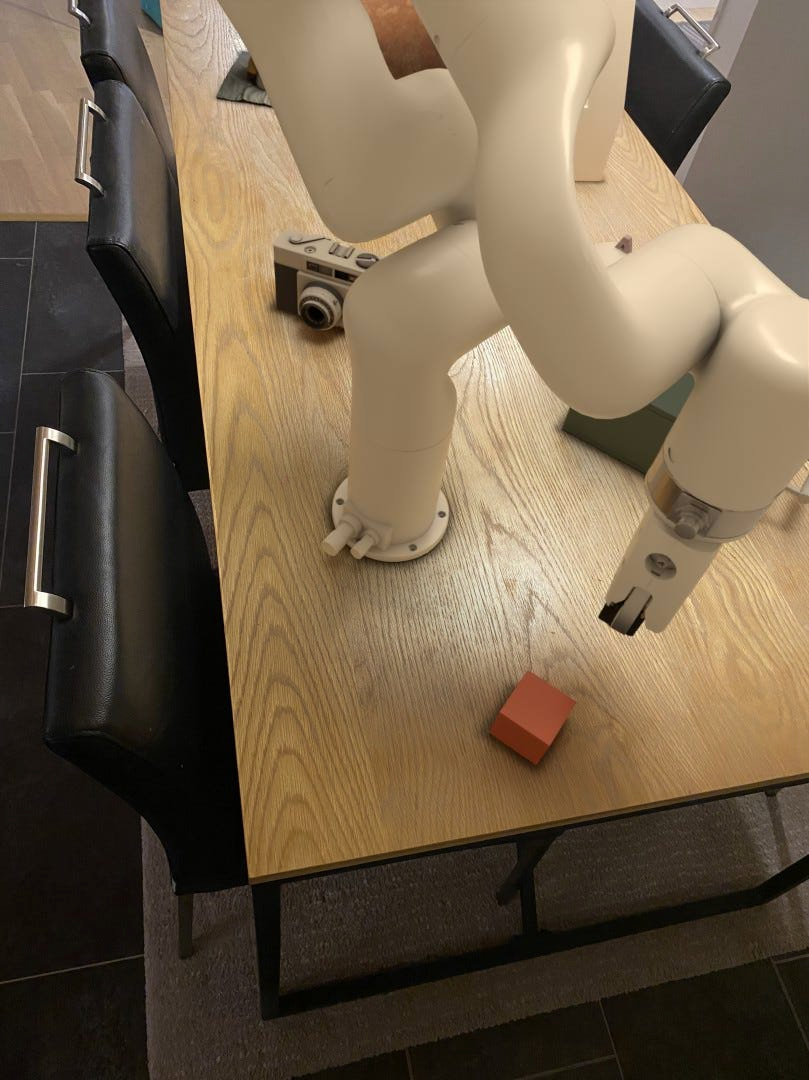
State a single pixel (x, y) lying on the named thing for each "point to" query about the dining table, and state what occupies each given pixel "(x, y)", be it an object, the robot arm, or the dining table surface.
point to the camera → (316, 276)
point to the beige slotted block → (605, 100)
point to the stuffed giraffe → (244, 82)
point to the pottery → (402, 37)
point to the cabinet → (634, 427)
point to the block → (532, 717)
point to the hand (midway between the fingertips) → (618, 620)
